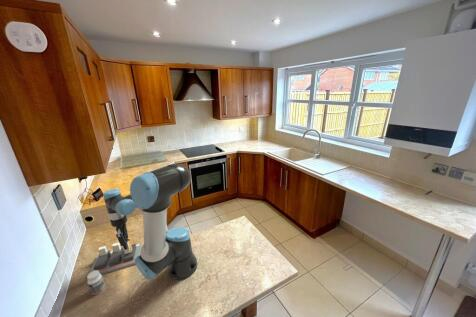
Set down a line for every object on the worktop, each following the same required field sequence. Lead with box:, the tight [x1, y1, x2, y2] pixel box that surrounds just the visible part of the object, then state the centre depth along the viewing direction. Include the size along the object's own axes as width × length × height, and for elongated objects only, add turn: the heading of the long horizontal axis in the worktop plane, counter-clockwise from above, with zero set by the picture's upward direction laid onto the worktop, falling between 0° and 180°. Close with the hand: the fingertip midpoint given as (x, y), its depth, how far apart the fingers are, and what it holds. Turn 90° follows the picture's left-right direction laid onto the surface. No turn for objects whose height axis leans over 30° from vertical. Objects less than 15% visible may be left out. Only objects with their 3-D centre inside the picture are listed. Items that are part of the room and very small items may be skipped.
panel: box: [88, 241, 143, 276], centre depth 111 cm, size 16×24×8 cm, turn 110°
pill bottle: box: [86, 270, 106, 296], centre depth 92 cm, size 6×6×10 cm
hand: (127, 252), depth 110 cm, fingers closed
